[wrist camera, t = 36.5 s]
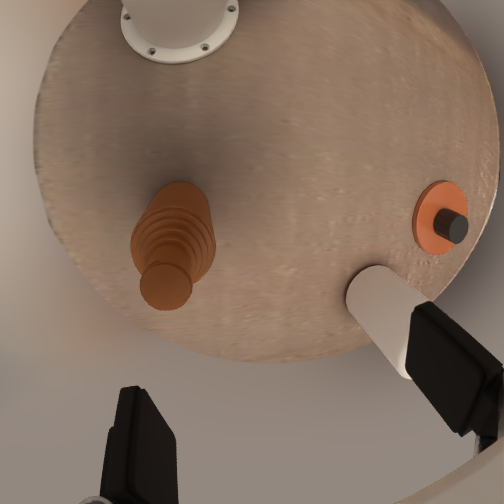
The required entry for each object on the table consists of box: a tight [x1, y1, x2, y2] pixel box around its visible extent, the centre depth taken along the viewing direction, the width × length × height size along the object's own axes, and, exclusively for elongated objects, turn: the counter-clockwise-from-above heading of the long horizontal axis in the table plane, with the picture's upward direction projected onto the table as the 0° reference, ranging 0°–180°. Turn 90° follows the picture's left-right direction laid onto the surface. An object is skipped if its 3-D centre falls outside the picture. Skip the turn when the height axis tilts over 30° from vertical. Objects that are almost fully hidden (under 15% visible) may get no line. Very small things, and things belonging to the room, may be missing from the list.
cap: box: [433, 208, 468, 244], centre depth 38 cm, size 4×4×4 cm
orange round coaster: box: [413, 181, 467, 255], centre depth 40 cm, size 11×11×1 cm
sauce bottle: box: [131, 182, 216, 310], centre depth 25 cm, size 6×6×18 cm
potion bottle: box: [346, 265, 452, 379], centre depth 34 cm, size 8×8×18 cm
